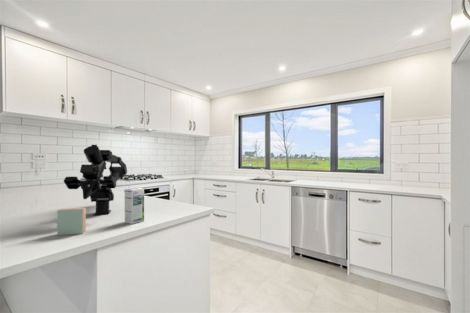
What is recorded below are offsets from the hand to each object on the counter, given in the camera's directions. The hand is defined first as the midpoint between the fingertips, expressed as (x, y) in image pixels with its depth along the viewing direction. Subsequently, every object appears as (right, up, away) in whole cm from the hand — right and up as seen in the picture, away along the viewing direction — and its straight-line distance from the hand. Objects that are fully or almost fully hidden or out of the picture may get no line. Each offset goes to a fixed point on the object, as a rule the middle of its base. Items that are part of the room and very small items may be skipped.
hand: (84, 198), depth 86 cm
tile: (+2, -11, -10) cm, 15 cm away
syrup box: (+18, -11, +5) cm, 22 cm away
